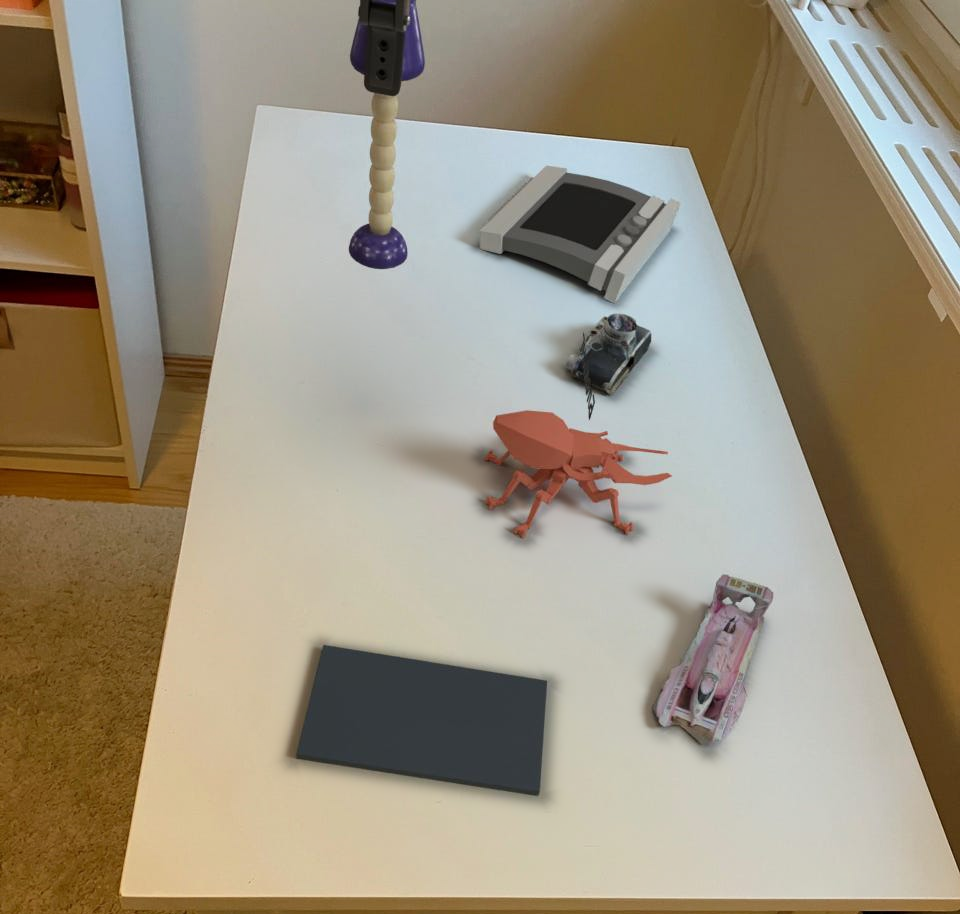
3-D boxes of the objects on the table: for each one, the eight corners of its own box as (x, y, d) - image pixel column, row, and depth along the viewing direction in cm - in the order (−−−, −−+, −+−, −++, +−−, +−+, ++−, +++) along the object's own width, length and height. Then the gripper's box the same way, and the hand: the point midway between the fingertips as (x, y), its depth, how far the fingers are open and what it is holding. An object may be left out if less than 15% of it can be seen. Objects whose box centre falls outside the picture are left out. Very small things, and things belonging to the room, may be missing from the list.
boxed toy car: (722, 757, 69) (743, 726, 66) (648, 723, 70) (666, 691, 67) (766, 628, 77) (787, 595, 74) (700, 599, 78) (718, 565, 75)
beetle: (483, 535, 79) (509, 411, 69) (481, 431, 86) (504, 305, 76) (666, 551, 81) (716, 431, 71) (648, 447, 88) (692, 327, 78)
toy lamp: (333, 259, 71) (343, -2, 57) (352, 226, 73) (365, -29, 60) (398, 276, 70) (423, 18, 57) (415, 242, 73) (441, -10, 60)
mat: (296, 758, 65) (296, 753, 64) (323, 649, 70) (323, 644, 70) (538, 796, 65) (539, 791, 65) (545, 685, 71) (547, 680, 70)
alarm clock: (625, 274, 98) (481, 204, 100) (610, 313, 102) (472, 245, 104) (681, 203, 108) (549, 140, 110) (666, 240, 112) (539, 179, 114)
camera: (559, 378, 92) (568, 340, 89) (605, 326, 98) (616, 289, 95) (607, 400, 91) (618, 363, 88) (651, 347, 97) (663, 310, 94)
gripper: (361, -333, 53) (346, 17, 67) (312, -277, 44) (307, 113, 58) (498, -302, 54) (457, 38, 67) (477, -240, 45) (434, 138, 58)
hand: (387, 71), depth 62 cm, fingers closed on toy lamp, 4 cm apart
